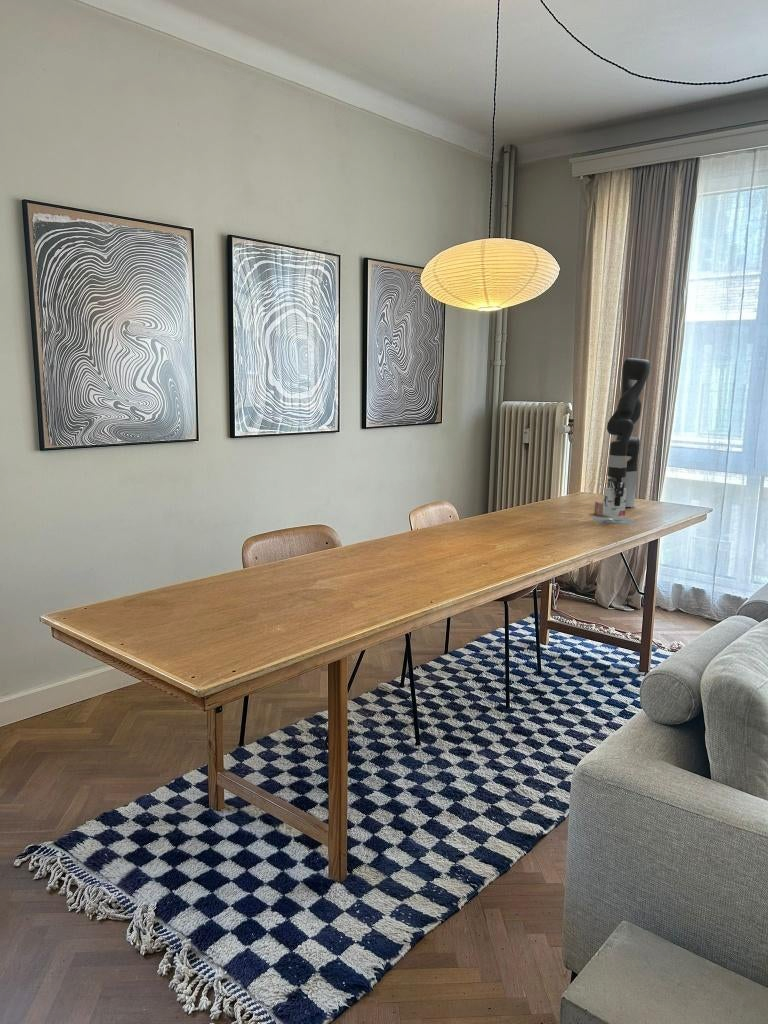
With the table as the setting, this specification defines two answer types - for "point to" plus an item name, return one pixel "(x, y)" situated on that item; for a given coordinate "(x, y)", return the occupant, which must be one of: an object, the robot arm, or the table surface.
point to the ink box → (609, 501)
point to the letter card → (613, 520)
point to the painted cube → (599, 508)
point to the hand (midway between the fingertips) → (614, 504)
